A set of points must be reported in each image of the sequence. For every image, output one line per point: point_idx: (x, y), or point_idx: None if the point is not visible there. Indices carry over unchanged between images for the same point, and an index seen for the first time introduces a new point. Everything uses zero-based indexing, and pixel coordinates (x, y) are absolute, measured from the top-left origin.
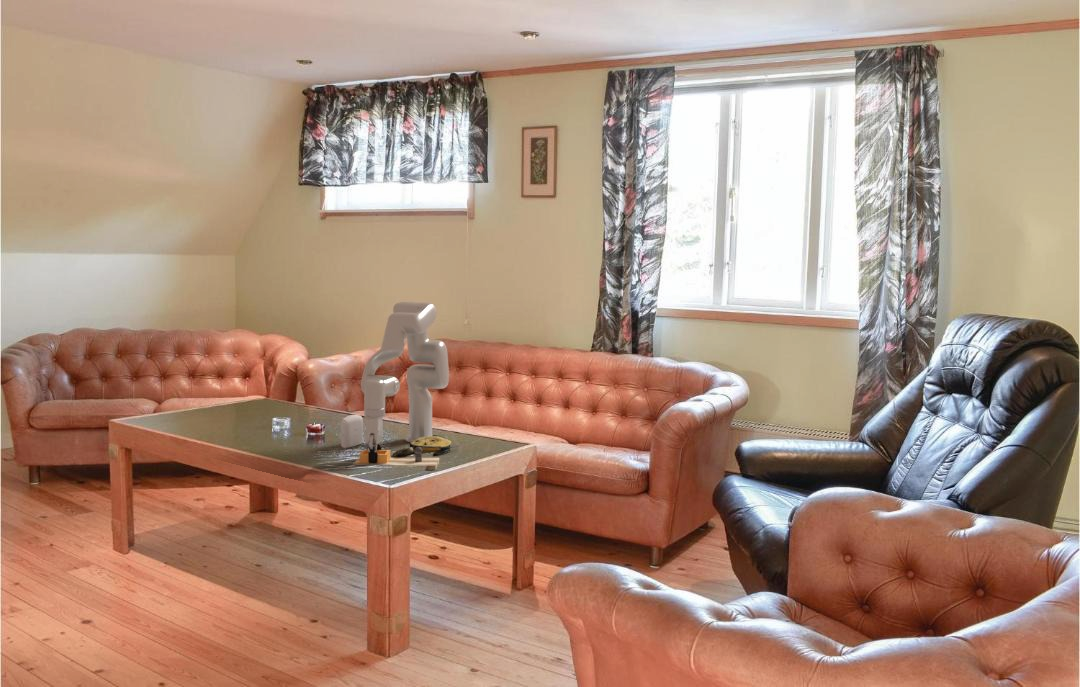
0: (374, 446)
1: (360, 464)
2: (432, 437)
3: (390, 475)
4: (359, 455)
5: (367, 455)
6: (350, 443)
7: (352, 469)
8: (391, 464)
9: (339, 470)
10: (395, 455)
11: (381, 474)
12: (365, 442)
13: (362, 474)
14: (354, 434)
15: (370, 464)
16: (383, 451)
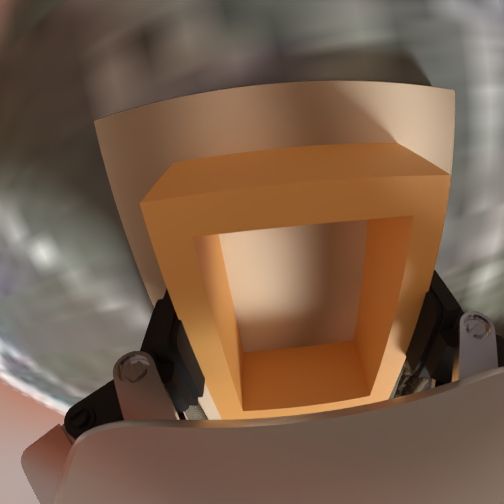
0: (459, 323)
1: (116, 198)
2: None
3: (87, 372)
4: (145, 196)
5: (176, 294)
6: None
7: (87, 127)
8: (205, 386)
9: (39, 45)
10: (405, 368)
11: (77, 341)
12: (70, 453)
13: (22, 253)
14: None
15: (149, 281)
16: (373, 371)
